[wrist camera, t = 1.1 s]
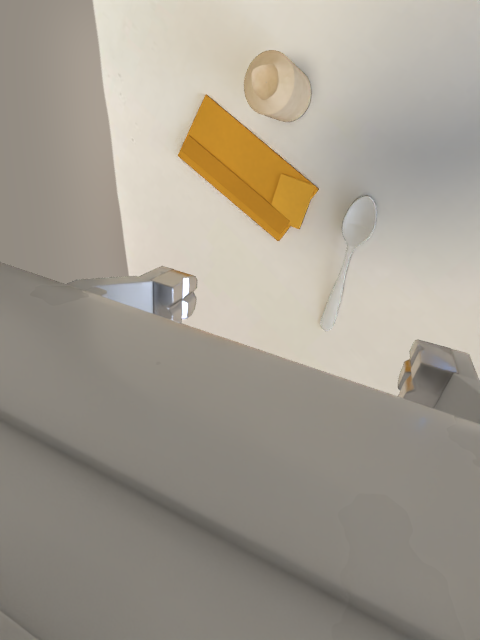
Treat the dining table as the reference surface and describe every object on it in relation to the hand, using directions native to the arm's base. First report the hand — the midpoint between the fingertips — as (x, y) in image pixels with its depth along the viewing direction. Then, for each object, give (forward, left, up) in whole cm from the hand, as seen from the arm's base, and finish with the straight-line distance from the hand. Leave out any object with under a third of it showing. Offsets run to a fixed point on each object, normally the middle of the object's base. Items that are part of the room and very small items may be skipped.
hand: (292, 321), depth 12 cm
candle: (-4, -16, -37) cm, 41 cm away
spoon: (+8, +4, -37) cm, 38 cm away
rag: (+7, -16, -37) cm, 41 cm away
